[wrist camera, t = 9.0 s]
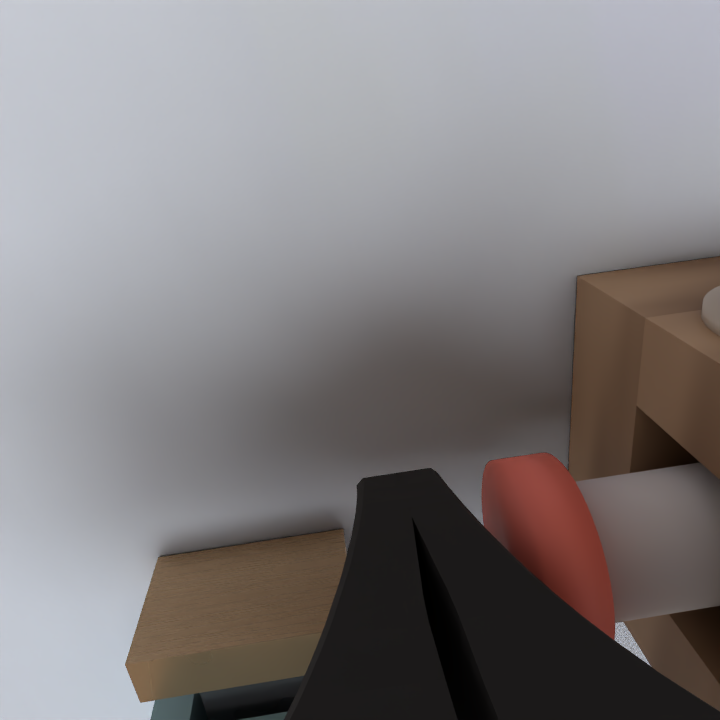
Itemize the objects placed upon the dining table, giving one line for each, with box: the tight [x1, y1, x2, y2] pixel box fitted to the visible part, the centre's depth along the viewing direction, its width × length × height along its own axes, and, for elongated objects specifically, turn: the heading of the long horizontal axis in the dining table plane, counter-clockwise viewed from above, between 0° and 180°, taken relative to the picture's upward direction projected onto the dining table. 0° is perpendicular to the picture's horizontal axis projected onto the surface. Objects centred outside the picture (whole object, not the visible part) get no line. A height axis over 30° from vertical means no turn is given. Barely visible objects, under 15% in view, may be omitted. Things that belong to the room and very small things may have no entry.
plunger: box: [482, 453, 720, 640], centre depth 9 cm, size 5×3×3 cm, turn 96°
